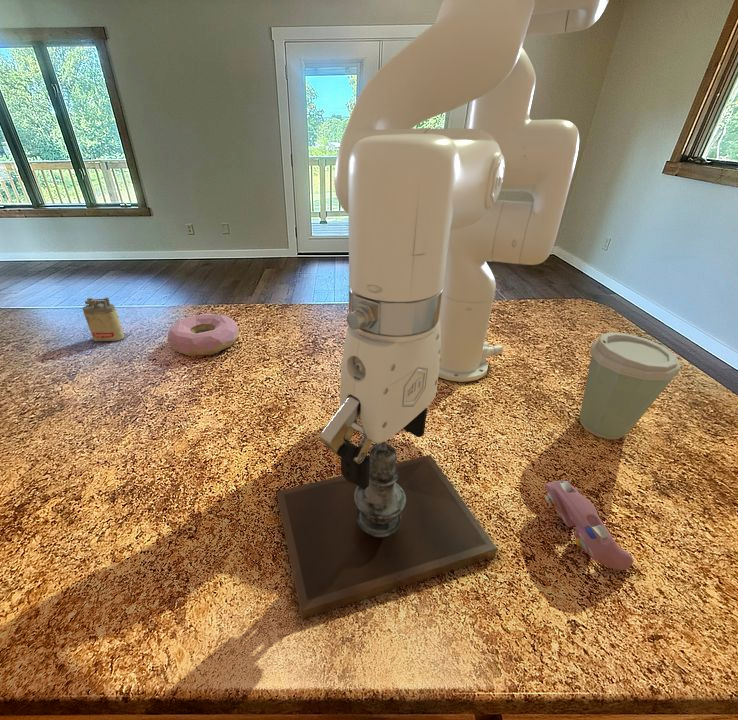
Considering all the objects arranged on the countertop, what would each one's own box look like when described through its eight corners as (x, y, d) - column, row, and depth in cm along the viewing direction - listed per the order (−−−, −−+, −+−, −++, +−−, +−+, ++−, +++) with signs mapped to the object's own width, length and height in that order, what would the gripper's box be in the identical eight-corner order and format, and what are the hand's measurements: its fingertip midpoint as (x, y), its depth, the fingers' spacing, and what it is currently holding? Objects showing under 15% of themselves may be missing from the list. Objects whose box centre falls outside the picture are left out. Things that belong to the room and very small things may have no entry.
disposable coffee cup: (630, 414, 64) (669, 334, 56) (653, 458, 55) (702, 370, 47) (560, 402, 67) (587, 324, 59) (570, 442, 58) (604, 357, 50)
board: (429, 462, 55) (430, 454, 54) (495, 556, 42) (497, 548, 42) (277, 499, 49) (276, 491, 49) (301, 619, 37) (301, 611, 36)
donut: (253, 338, 89) (250, 319, 87) (202, 367, 78) (197, 346, 76) (208, 324, 97) (204, 305, 94) (155, 348, 86) (150, 328, 83)
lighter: (90, 342, 89) (75, 301, 84) (98, 334, 92) (84, 295, 87) (121, 341, 89) (107, 301, 84) (128, 334, 92) (115, 295, 87)
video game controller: (544, 508, 49) (533, 476, 46) (579, 495, 49) (570, 461, 45) (595, 585, 41) (586, 552, 38) (638, 570, 40) (633, 536, 37)
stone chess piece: (402, 543, 42) (411, 465, 36) (350, 534, 43) (350, 457, 37) (404, 500, 47) (413, 426, 41) (357, 493, 48) (359, 419, 42)
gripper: (361, 363, 24) (358, 529, 33) (483, 287, 35) (456, 429, 44) (285, 328, 29) (301, 482, 38) (413, 270, 39) (402, 402, 48)
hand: (384, 453), depth 41 cm, fingers open, 9 cm apart
